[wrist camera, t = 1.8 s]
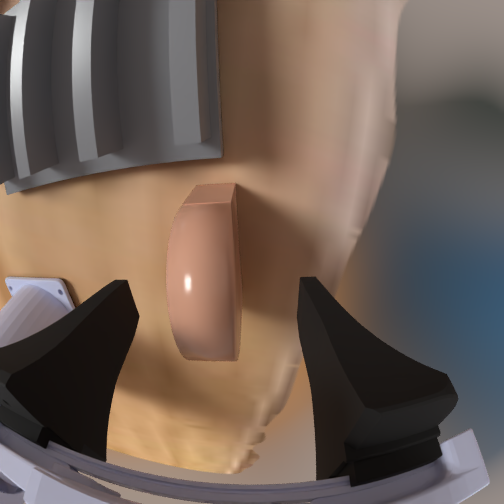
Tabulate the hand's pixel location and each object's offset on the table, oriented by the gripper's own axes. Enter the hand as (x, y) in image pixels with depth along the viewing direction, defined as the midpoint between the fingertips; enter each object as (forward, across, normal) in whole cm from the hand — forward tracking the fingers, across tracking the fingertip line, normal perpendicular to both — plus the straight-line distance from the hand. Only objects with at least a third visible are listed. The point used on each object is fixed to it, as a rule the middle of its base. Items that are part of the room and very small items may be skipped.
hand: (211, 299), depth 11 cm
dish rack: (+5, +7, -12) cm, 15 cm away
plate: (+5, 0, 0) cm, 5 cm away
